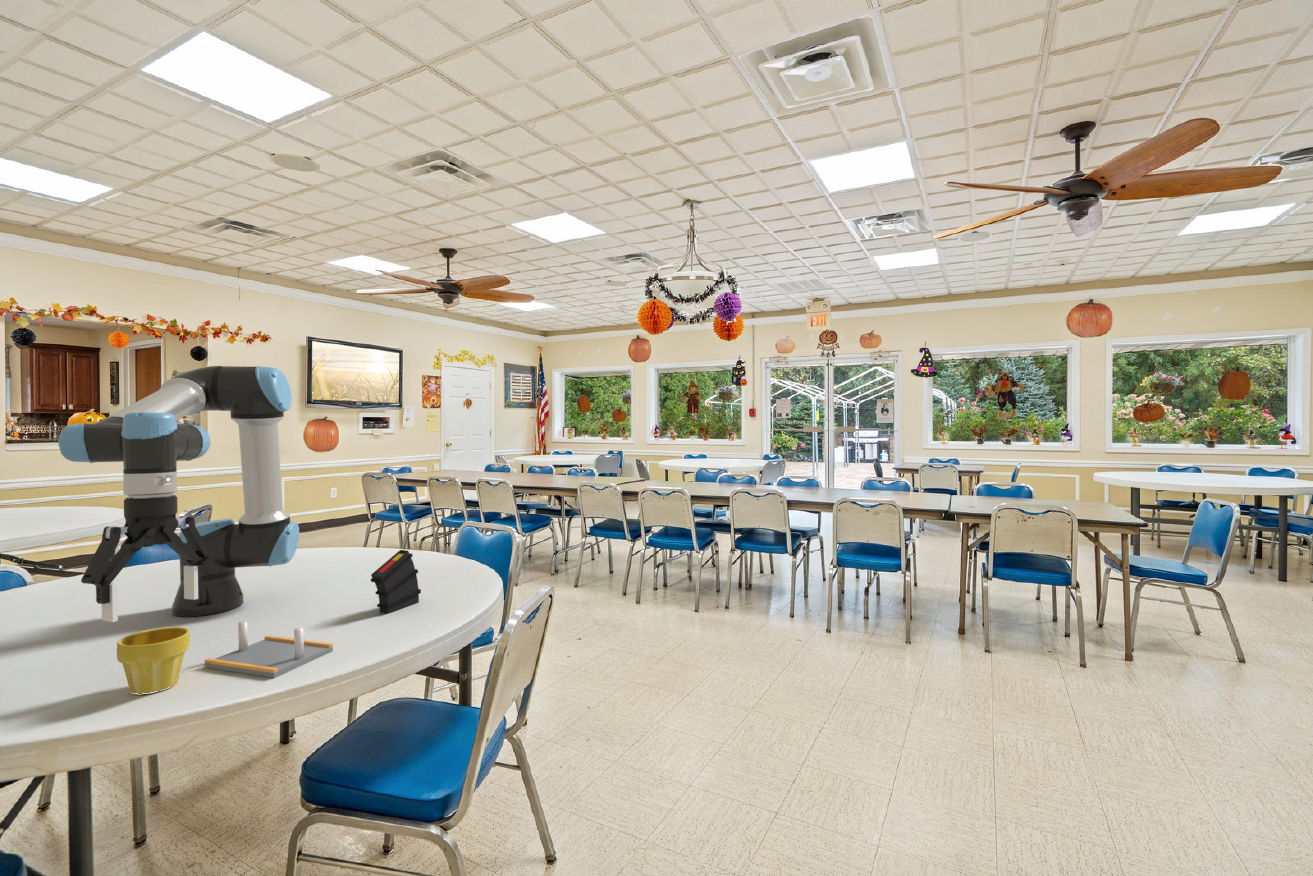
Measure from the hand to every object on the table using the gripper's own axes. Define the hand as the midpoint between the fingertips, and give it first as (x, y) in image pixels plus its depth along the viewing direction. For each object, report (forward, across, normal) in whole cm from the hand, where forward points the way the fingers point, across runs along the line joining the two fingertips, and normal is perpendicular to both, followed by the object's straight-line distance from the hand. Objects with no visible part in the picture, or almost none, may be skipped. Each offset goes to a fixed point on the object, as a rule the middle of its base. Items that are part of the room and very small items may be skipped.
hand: (153, 609), depth 108 cm
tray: (+15, +16, -9) cm, 24 cm away
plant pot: (+15, 0, 0) cm, 15 cm away
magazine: (+15, +51, -11) cm, 54 cm away
